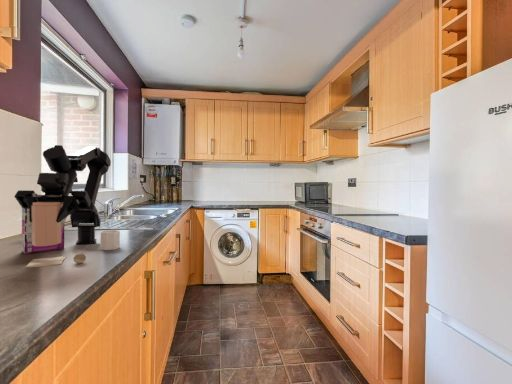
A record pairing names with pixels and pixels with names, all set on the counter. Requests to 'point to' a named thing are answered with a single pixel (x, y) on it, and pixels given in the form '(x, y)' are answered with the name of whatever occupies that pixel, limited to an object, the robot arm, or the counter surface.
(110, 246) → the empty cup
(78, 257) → the wooden ball
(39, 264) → the coaster
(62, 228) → the candy bar box
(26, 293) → the counter surface
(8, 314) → the counter surface
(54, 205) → the brown rounded shape
